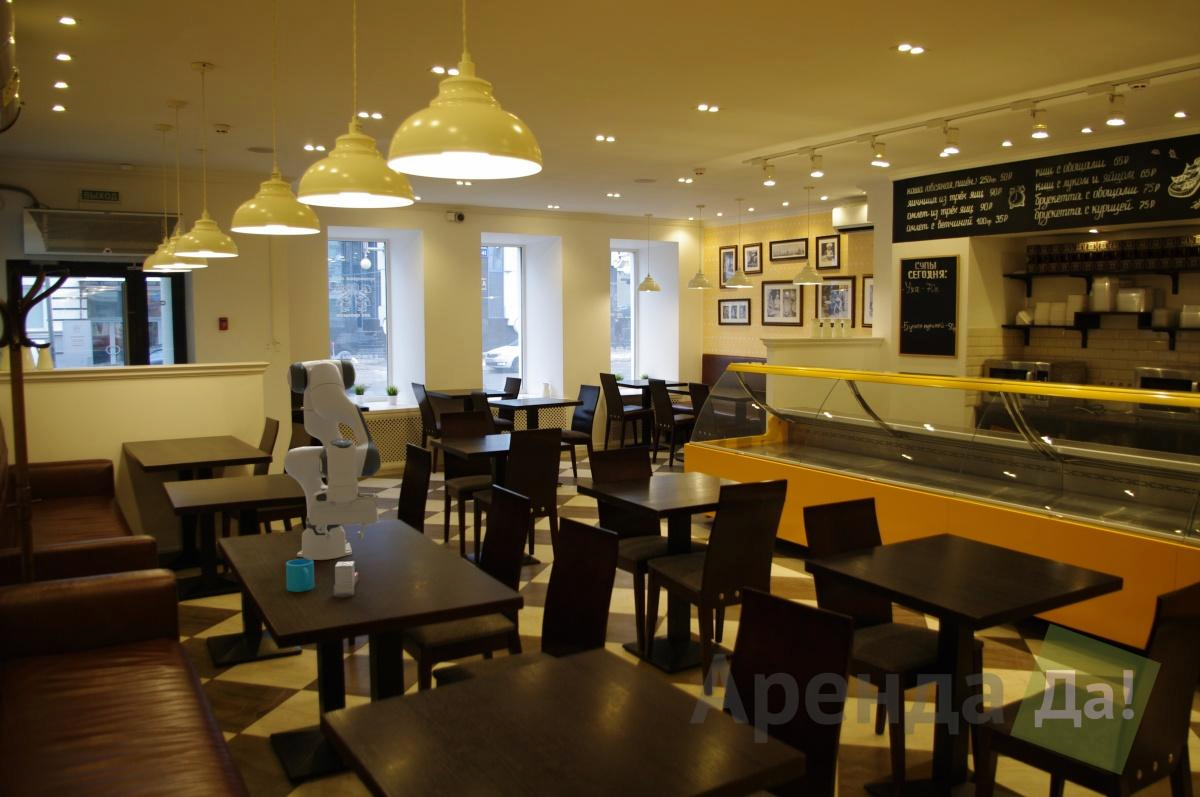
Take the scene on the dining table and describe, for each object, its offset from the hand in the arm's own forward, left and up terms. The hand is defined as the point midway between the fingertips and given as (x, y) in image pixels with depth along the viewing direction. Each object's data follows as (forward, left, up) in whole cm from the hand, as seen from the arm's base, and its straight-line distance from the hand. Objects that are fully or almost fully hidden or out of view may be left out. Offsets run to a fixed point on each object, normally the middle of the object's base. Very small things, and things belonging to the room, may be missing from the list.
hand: (344, 538), depth 271 cm
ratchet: (-6, 0, -17) cm, 18 cm away
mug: (-7, -14, -18) cm, 24 cm away
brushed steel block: (0, 0, -14) cm, 14 cm away
